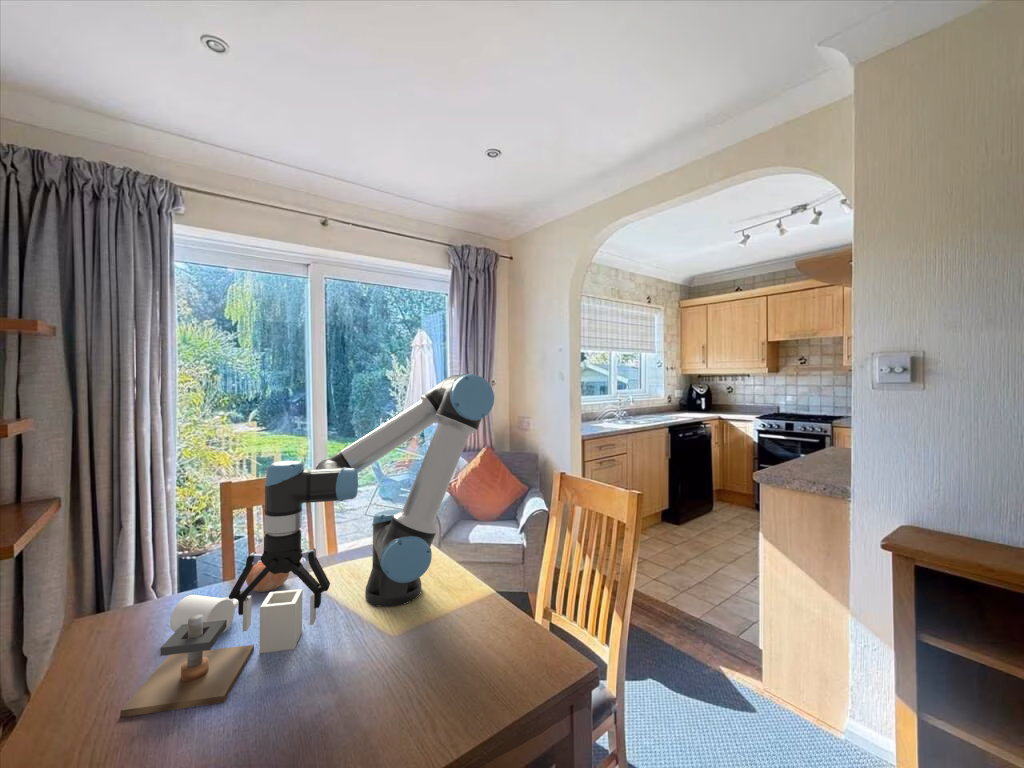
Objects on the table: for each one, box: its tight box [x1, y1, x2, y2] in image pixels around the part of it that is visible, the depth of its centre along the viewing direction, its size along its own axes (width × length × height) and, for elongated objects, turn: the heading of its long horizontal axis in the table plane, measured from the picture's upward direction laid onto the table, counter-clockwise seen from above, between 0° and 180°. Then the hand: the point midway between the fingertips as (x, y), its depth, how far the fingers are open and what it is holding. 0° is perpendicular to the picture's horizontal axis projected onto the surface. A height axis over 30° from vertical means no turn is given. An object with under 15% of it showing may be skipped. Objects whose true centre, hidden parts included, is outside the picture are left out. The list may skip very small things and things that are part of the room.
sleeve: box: [258, 588, 304, 654], centre depth 98 cm, size 7×7×10 cm
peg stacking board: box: [119, 615, 255, 718], centre depth 85 cm, size 16×16×12 cm
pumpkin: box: [245, 560, 290, 593], centre depth 123 cm, size 11×11×8 cm
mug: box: [169, 594, 239, 635], centre depth 103 cm, size 12×10×8 cm
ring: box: [159, 620, 227, 657], centre depth 85 cm, size 8×8×2 cm
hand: (280, 625), depth 98 cm, fingers open, 13 cm apart
